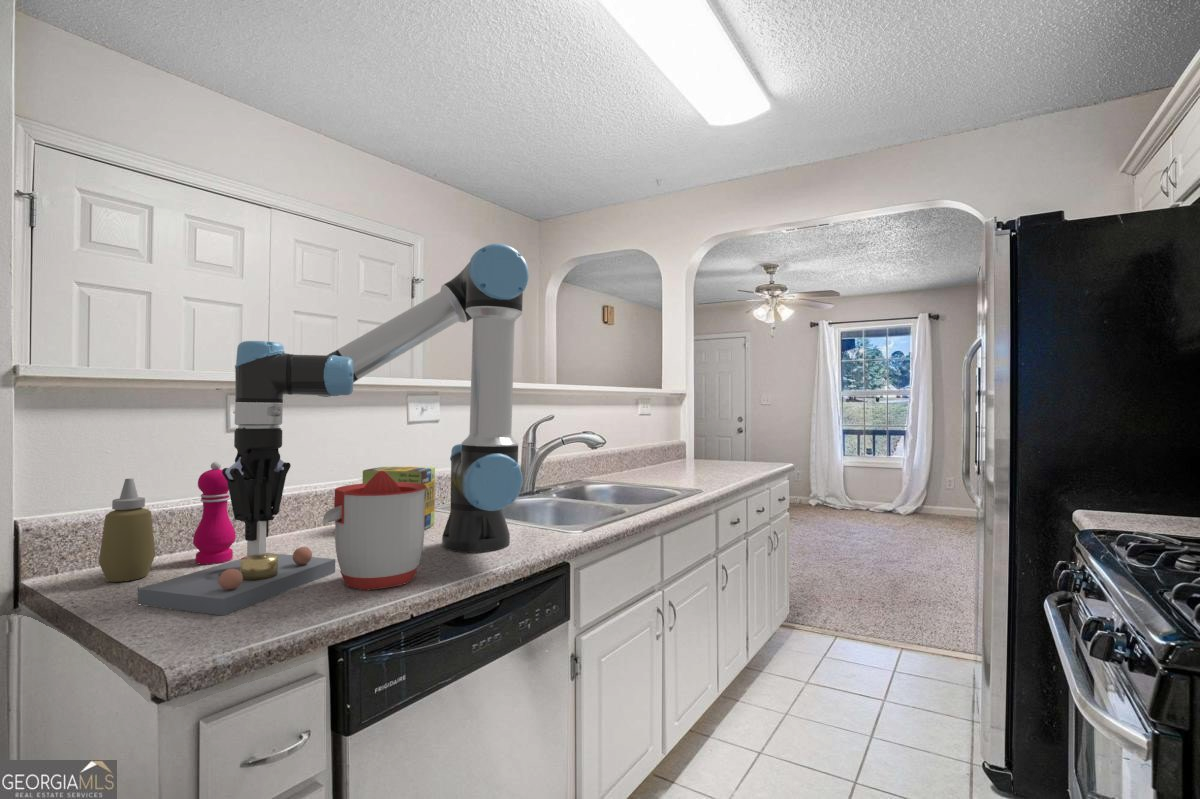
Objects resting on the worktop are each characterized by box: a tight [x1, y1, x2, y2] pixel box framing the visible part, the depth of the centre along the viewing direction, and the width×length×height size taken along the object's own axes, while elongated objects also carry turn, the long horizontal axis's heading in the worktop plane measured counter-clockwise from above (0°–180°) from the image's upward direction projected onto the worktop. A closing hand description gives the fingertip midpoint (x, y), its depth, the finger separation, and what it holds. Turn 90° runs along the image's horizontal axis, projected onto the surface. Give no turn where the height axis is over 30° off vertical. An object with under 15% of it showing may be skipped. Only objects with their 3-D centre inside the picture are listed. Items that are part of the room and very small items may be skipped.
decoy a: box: [292, 546, 313, 565], centre depth 107 cm, size 3×3×3 cm
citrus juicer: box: [322, 470, 426, 591], centre depth 105 cm, size 16×17×20 cm
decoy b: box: [219, 569, 243, 590], centre depth 92 cm, size 3×3×3 cm
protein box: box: [362, 466, 436, 531], centre depth 151 cm, size 10×15×16 cm
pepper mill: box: [192, 461, 237, 565], centre depth 119 cm, size 7×7×20 cm
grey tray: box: [137, 553, 336, 617], centre depth 102 cm, size 17×24×2 cm
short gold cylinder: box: [240, 552, 278, 580], centre depth 100 cm, size 6×6×3 cm
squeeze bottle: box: [98, 477, 156, 583], centre depth 106 cm, size 8×8×18 cm
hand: (256, 557), depth 106 cm, fingers closed
